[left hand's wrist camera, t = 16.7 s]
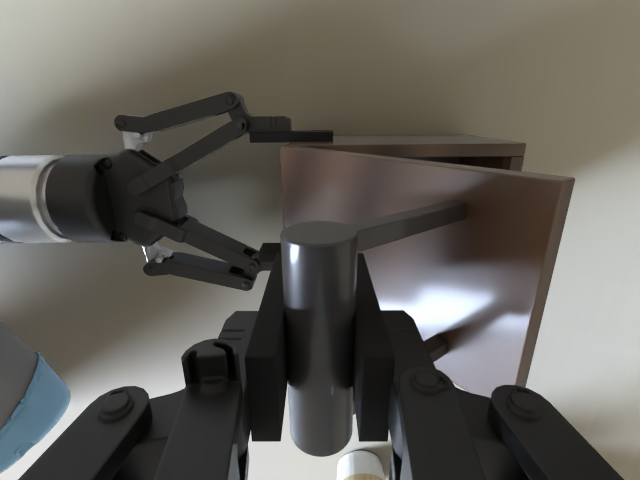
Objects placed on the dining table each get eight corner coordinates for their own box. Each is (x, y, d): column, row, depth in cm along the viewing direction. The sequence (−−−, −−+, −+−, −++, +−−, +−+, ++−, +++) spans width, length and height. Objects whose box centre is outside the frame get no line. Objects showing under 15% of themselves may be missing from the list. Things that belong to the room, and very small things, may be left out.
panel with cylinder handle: (576, 177, 11) (381, 231, 6) (521, 406, 14) (363, 563, 9) (292, 145, 24) (154, 154, 19) (296, 269, 27) (180, 305, 22)
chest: (467, 134, 34) (526, 143, 24) (455, 227, 37) (503, 268, 27) (299, 136, 34) (286, 145, 24) (301, 227, 38) (291, 268, 27)
